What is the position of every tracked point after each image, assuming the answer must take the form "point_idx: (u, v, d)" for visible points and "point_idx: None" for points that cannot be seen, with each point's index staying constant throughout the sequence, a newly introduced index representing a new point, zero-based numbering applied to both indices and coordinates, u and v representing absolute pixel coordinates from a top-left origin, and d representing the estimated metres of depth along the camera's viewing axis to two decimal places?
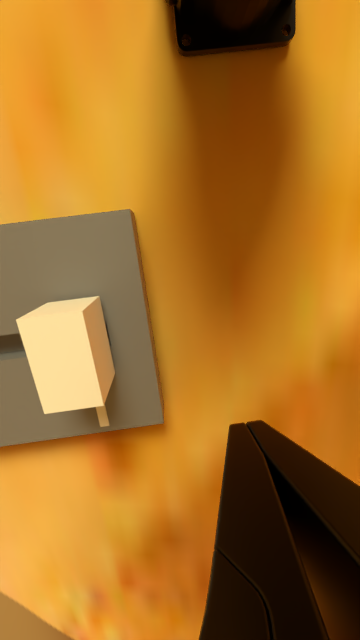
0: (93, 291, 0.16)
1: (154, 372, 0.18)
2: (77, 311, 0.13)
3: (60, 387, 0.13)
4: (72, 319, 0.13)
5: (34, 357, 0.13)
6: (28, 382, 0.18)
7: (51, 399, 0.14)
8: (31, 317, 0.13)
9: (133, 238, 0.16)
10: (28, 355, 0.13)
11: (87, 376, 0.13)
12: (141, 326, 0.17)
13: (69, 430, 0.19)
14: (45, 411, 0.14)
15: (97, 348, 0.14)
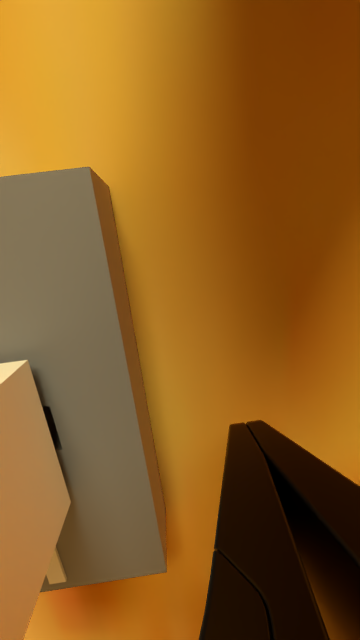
0: (18, 347, 0.08)
1: (149, 492, 0.09)
2: None
3: None
4: None
5: None
6: None
7: None
8: None
9: (100, 235, 0.07)
10: None
11: None
12: (122, 413, 0.08)
13: None
14: None
15: (0, 514, 0.06)
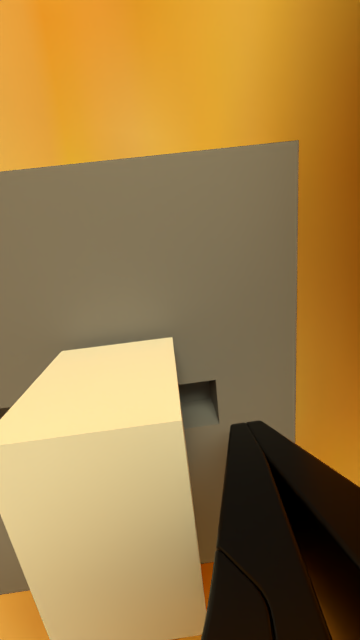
0: (197, 320, 0.08)
1: None
2: (165, 418, 0.04)
3: (102, 603, 0.05)
4: (150, 444, 0.04)
5: (32, 542, 0.04)
6: None
7: (76, 629, 0.05)
8: (24, 437, 0.04)
9: (295, 208, 0.07)
10: (14, 539, 0.04)
11: (176, 577, 0.05)
12: (282, 388, 0.09)
13: None
14: None
15: None
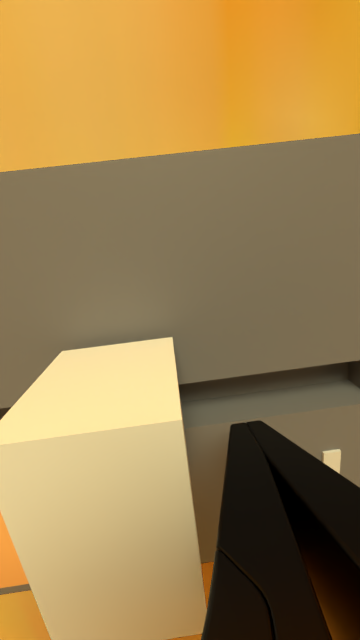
0: None
1: None
2: (165, 417, 0.04)
3: (103, 602, 0.05)
4: (151, 443, 0.04)
5: (33, 541, 0.04)
6: (212, 468, 0.09)
7: (77, 628, 0.05)
8: (24, 437, 0.04)
9: None
10: (15, 538, 0.04)
11: (176, 575, 0.05)
12: None
13: None
14: None
15: None
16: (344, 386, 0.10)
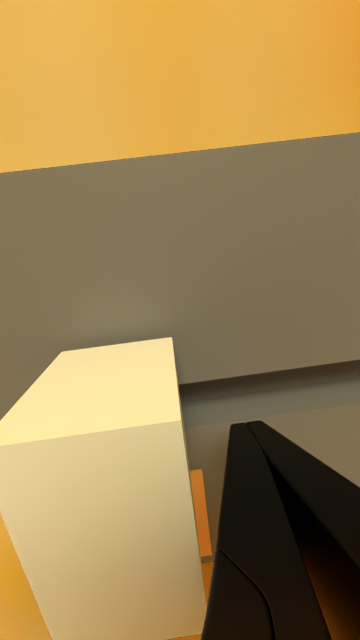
0: None
1: None
2: (164, 418, 0.04)
3: (104, 603, 0.05)
4: (150, 444, 0.04)
5: (33, 542, 0.04)
6: (354, 446, 0.09)
7: (78, 628, 0.05)
8: (24, 438, 0.04)
9: None
10: (15, 539, 0.04)
11: (177, 575, 0.05)
12: None
13: None
14: None
15: None
16: None
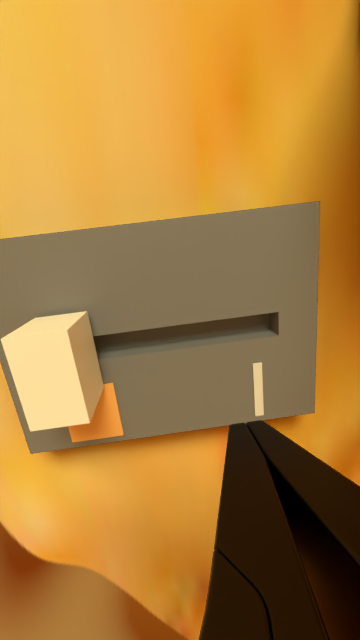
0: (271, 281, 0.17)
1: (314, 362, 0.18)
2: (62, 330, 0.13)
3: (46, 405, 0.13)
4: (57, 338, 0.13)
5: (19, 376, 0.13)
6: (194, 371, 0.18)
7: (37, 417, 0.14)
8: (16, 336, 0.13)
9: (318, 229, 0.16)
10: (13, 374, 0.13)
11: (73, 394, 0.13)
12: (310, 316, 0.17)
13: (224, 420, 0.19)
14: (31, 429, 0.14)
15: (83, 365, 0.14)
16: (266, 331, 0.19)
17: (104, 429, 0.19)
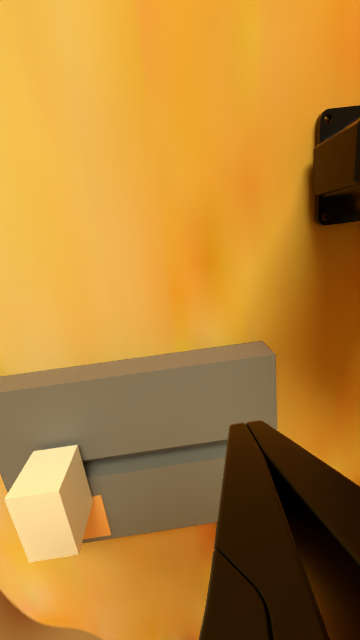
0: (236, 414, 0.19)
1: None
2: (54, 490, 0.15)
3: (42, 543, 0.16)
4: (51, 496, 0.15)
5: (20, 524, 0.16)
6: (172, 484, 0.21)
7: (34, 552, 0.16)
8: (17, 495, 0.15)
9: (275, 374, 0.19)
10: (15, 523, 0.16)
11: (64, 535, 0.16)
12: None
13: (199, 520, 0.22)
14: (30, 560, 0.17)
15: (73, 504, 0.17)
16: None
17: (94, 531, 0.21)
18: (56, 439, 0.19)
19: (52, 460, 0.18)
